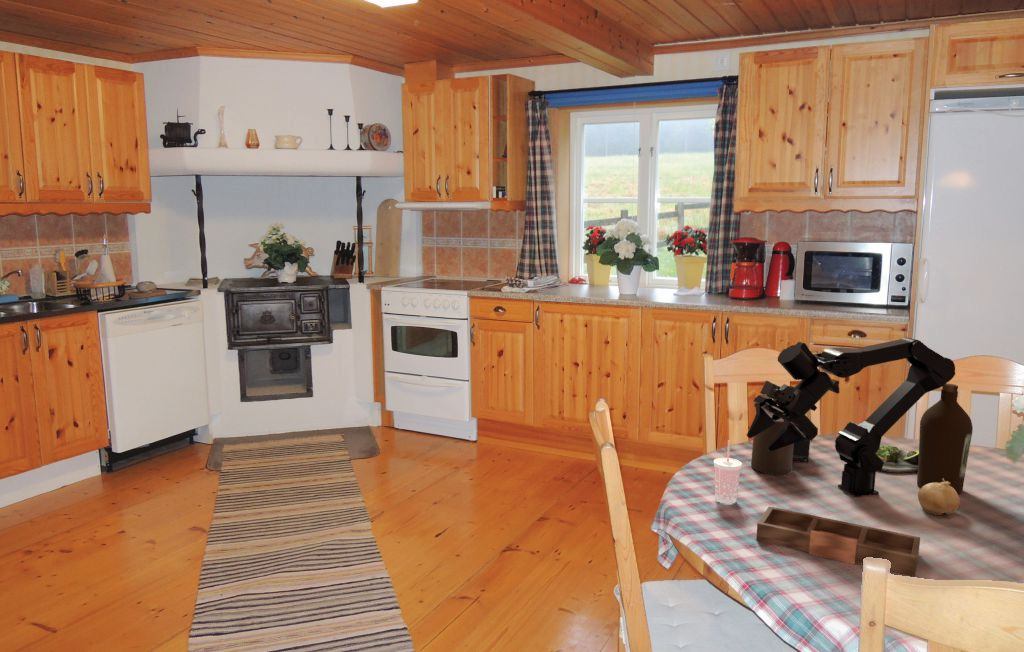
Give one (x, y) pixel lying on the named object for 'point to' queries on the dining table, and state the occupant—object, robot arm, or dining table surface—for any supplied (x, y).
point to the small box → (801, 451)
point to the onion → (939, 498)
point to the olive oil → (944, 441)
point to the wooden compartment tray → (838, 539)
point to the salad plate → (898, 459)
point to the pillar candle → (771, 452)
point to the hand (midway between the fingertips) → (758, 443)
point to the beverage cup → (726, 478)
